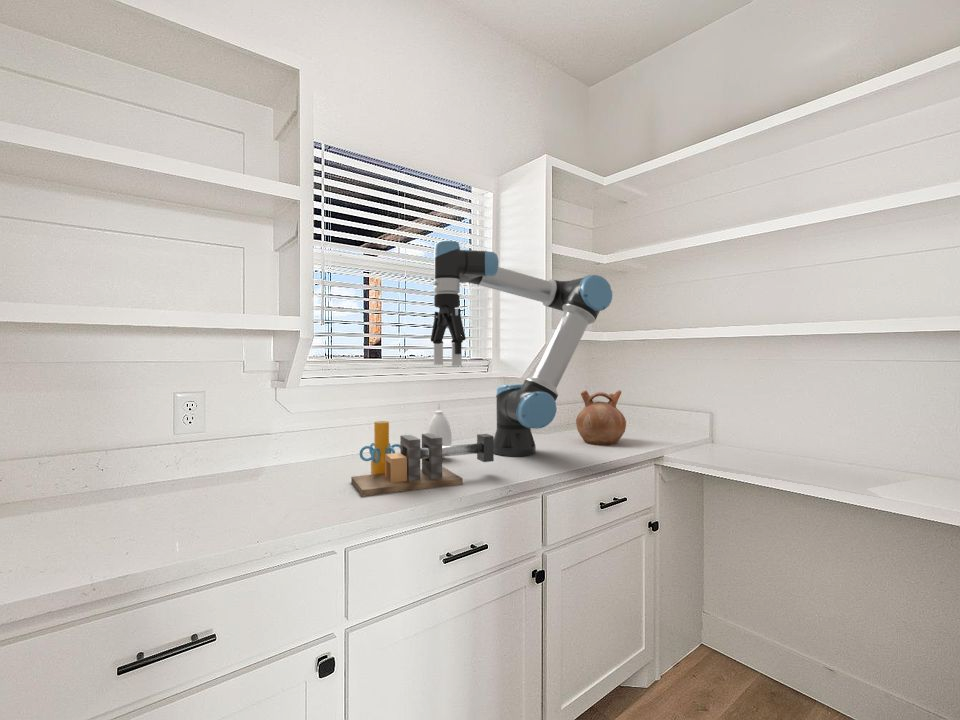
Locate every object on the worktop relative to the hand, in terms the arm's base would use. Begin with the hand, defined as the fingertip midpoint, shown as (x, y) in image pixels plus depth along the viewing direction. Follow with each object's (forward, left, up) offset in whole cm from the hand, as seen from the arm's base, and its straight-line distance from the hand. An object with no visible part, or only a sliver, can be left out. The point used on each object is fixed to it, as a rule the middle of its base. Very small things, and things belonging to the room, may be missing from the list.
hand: (447, 365), depth 150 cm
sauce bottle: (-2, -12, -31) cm, 33 cm away
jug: (-68, -13, -31) cm, 75 cm away
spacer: (+19, +13, -29) cm, 37 cm away
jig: (+17, +13, -30) cm, 37 cm away
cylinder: (+20, +2, -31) cm, 37 cm away
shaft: (+3, +13, -26) cm, 30 cm away
